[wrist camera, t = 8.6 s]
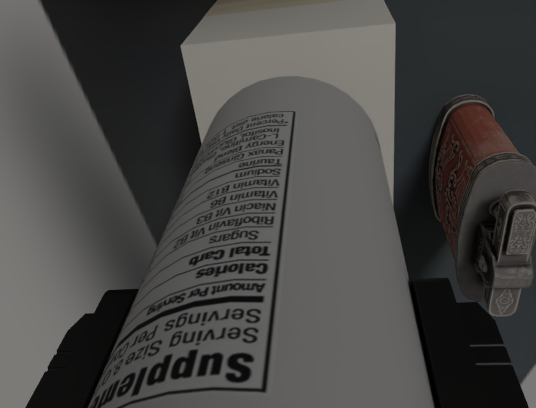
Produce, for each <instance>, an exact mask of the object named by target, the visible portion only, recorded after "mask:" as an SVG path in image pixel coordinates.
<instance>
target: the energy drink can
mask: <svg viewBox="0 0 536 408" xmlns="http://www.w3.org/2000/svg"><path fill="white" fill-rule="evenodd" d="M88 408H437V406H436V401H435V397H434V392H433V388H432V383H431V378H430V374H429V369H428V365H427V360H426V355H425V351H424V346H423V342H422V337H421V332H420V328H419V323H418V319H417V314H416V310H415V305H414V300H413V296H412V291H411V287H410V282H409V277H408V273H407V268H406V264H405V259H404V254H403V250H402V245H401V241H400V236H399V232H398V227H397V222H396V218H395V213H394V209H393V204H392V199H391V195H390V190H389V186H388V181H387V176H386V172H385V167H384V163H383V158H382V153H381V149H380V144H379V140H378V135H377V133H376V131H375V128H374V126H373V123H372V121H371V119H370V118H369V117H368V115H367V114H366V112H365V111H364V109H363V108H362V107H361V106H360V105H359V104H358V103H357V102H356V101H355V100H354V99H353V98H352V97H351V96H349V95H348V94H347V93H345V92H343V91H342V90H340V89H338V88H337V87H335V86H333V85H331V84H328V83H325V82H323V81H320V80H317V79H313V78H306V77H300V76H283V77H274V78H270V79H266V80H261V81H258V82H256V83H254V84H252V85H249V86H247V87H245V88H243V89H242V90H240V91H239V92H237V93H236V94H235V95H233V96H232V97H231V98H229V99H228V100H227V101H226V103H225V104H224V105H223V106H222V107H221V108H220V109H219V111H218V112H217V114H216V115H215V117H214V119H213V121H212V123H211V124H210V126H209V129H208V131H207V133H206V136H205V138H204V140H203V143H202V145H201V147H200V150H199V152H198V154H197V157H196V159H195V161H194V163H193V166H192V168H191V170H190V173H189V175H188V177H187V180H186V182H185V184H184V187H183V189H182V191H181V194H180V196H179V198H178V200H177V203H176V205H175V207H174V210H173V212H172V214H171V217H170V219H169V221H168V224H167V226H166V228H165V230H164V233H163V235H162V237H161V240H160V242H159V244H158V247H157V249H156V251H155V254H154V256H153V258H152V261H151V263H150V265H149V268H148V270H147V272H146V275H145V277H144V279H143V281H142V284H141V286H140V288H139V291H138V293H137V295H136V298H135V300H134V302H133V304H132V307H131V309H130V311H129V314H128V316H127V318H126V321H125V323H124V325H123V328H122V330H121V332H120V334H119V337H118V339H117V341H116V344H115V346H114V348H113V351H112V353H111V355H110V358H109V360H108V362H107V365H106V367H105V369H104V371H103V374H102V376H101V378H100V381H99V383H98V385H97V388H96V390H95V392H94V395H93V397H92V399H91V402H90V404H89V406H88Z"/></svg>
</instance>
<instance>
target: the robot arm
mask: <svg viewBox="0 0 536 408" xmlns="http://www.w3.org/2000/svg"><path fill="white" fill-rule="evenodd" d="M138 291H139V289H125V290H109V291H107V292H106V293H105V294H104V295H103V297H102V299H101V301H100V303H99V305H98V307H97V309H96V311H95V313H93V314H85V315H84V316H83V317H82V318H80V319H79V320H78V321H77V323H75V324H74V325H73V326H72V327H71V328H70V329H69V330H68V331H67V333H66V335H65V337H64V338H63V340H62V342H61V344H60V346H59V348H58V349H57V354H56V355H54V357H53V359H52V360H51V362H50V364H49V366H48V371H47V372H45V373H44V375H43V377H42V378H41V380H40V382H39V384H38V386H37V388H36V389H35V391H34V393H33V395H32V397H31V399H30V400H29V402H28V404H27V406H26V408H88V406H89V404H90V402H91V399H92V397H93V395H94V392H95V390H96V388H97V385H98V383H99V381H100V378H101V376H102V374H103V371H104V369H105V367H106V365H107V362H108V360H109V358H110V355H111V353H112V351H113V348H114V346H115V344H116V341H117V339H118V337H119V334H120V332H121V330H122V328H123V325H124V323H125V321H126V318H127V316H128V314H129V311H130V309H131V307H132V304H133V302H134V300H135V298H136V295H137V293H138ZM411 291H412V296H413V300H414V305H415V310H416V314H417V319H418V323H419V328H420V332H421V337H422V342H423V346H424V351H425V355H426V360H427V365H428V369H429V374H430V378H431V383H432V388H433V392H434V397H435V401H436V406H437V408H529V407H528V404H527V402H526V399H525V397H524V394H523V391H522V389H521V386H520V384H519V381H518V379H517V376H516V373H515V371H514V368H513V366H511V361H510V358H509V355H508V353H507V350H506V348H505V347H504V343H503V340H502V337H501V335H500V332H499V330H498V327H497V325H496V322H495V320H494V319H493V318H492V317H491V316H490V315H489V314H488V313H487V312H486V311H485V310H484V309H483V308H482V307H481V306H480V305H479V304H478V303H477V302H466V303H456V299H455V296H454V293H453V290H452V287H451V284H450V281H449V279H448V278H431V279H412V280H411Z"/></svg>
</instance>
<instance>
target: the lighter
mask: <svg viewBox="0 0 536 408" xmlns="http://www.w3.org/2000/svg"><path fill="white" fill-rule="evenodd" d="M429 188H430V195H431V202H432V207H433V210H434V213H435V215H436V218H437V219H438V220H439V221H440V222H441V223H442V226H443V228H444V231H445V234H446V237H447V240H448V243H449V246H450V248H451V251H452V254H453V257H454V260H455V268H456V276H457V281H458V284H459V287H460V289H461V292H462V294H463V295H464V296H465V297H467V298H468V299H470V300H473V301H476V302H485V303H486V306H487V308H488V311H489V313H490V314H491V315H493V316H509V315H512V314H513V313H514V312H515V311H516V309H517V305H518V301H519V297H520V292H521V288H530V287H531V285H532V281H533V266H532V258H531V251H532V248H533V245H534V242H535V239H536V168H535V166H534V165H533V164H532V162H531V161H530V160H529V159H528V158H527V157H526V156H523V155H521V154H519V153H518V151H517V150H516V148H515V147H514V146H513V144H512V143H511V141H510V140H509V139H508V137H507V136H506V134H505V133H504V132H503V130H502V129H501V127H500V126H499V125H498V123H497V122H496V120H495V117H494V113H493V110H492V108H491V107H490V105H489V104H488V103H487V102H486V101H485V100H484V99H483V98H482V97H479V96H477V95H469V94H466V95H461V96H457V97H455V98H453V99H451V100H450V101H449V102H448V103H446V104H445V105H444V107H443V109H442V110H441V113H440V116H439V119H438V123H437V126H436V129H435V133H434V136H433V141H432V147H431V153H430V159H429Z"/></svg>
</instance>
